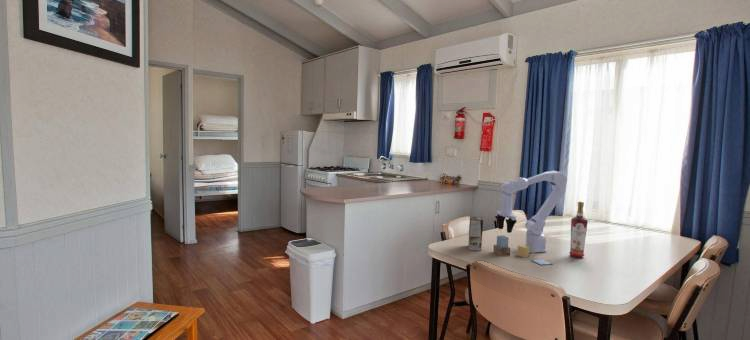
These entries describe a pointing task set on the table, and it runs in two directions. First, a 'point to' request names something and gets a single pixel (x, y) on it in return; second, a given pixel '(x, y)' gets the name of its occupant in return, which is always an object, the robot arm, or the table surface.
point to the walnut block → (501, 250)
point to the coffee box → (475, 233)
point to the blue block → (502, 241)
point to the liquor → (578, 233)
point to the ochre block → (523, 251)
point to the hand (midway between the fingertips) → (504, 230)
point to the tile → (541, 262)
